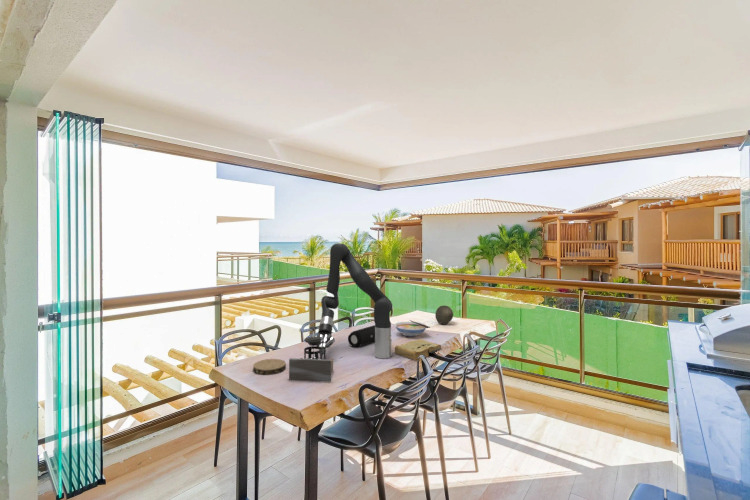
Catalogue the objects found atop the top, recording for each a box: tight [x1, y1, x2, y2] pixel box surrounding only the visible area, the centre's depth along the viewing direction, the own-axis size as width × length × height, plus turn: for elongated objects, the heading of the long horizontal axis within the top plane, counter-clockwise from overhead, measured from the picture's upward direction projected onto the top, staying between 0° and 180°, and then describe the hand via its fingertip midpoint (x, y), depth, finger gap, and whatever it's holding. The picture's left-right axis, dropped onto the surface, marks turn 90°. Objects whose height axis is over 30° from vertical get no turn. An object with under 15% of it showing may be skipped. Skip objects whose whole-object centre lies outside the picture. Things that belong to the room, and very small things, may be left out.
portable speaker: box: [347, 324, 375, 348], centre depth 232 cm, size 26×10×10 cm, turn 142°
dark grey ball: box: [434, 305, 454, 325], centre depth 288 cm, size 14×14×15 cm
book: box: [393, 338, 443, 362], centre depth 213 cm, size 25×17×6 cm
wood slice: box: [252, 358, 287, 376], centre depth 183 cm, size 16×16×3 cm
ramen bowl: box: [394, 319, 431, 338], centre depth 253 cm, size 25×23×8 cm
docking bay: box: [288, 357, 334, 382], centre depth 176 cm, size 14×20×10 cm
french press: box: [303, 326, 327, 360], centre depth 180 cm, size 12×9×23 cm
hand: (321, 354), depth 192 cm, fingers closed
